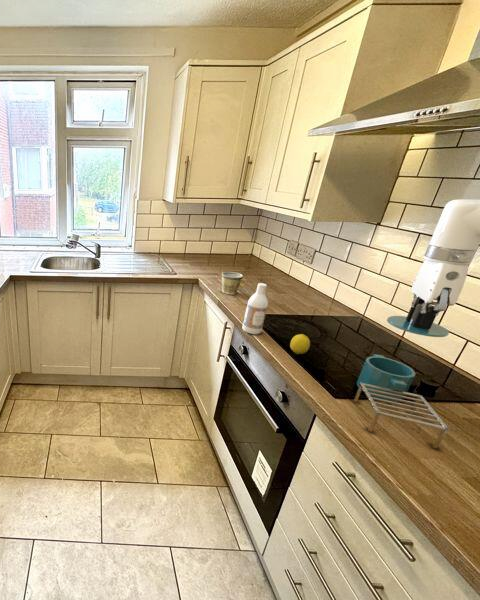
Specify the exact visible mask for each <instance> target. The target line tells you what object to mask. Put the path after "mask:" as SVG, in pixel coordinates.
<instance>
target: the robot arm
mask: <svg viewBox="0 0 480 600" xmlns="http://www.w3.org/2000/svg"><path fill="white" fill-rule="evenodd" d="M479 246H480V199H470V198H469V199H468V198H462V199H461V198H460V199H459V198H457V199H453V200H450V201H448V202H447V203H446V204H445V206H444V208H443V210H442V211H441V215H440V217H439V219H438V222H437V224H436V227H435V228H434V231H433V234H432V236H431V238H430V241H429V243H428V246H427V248H426V249H425V250H426V251H425V253H424V255H423V259H424V260H423V262H422V264H421V266H420V268H419V270H418V272H417V274H416V276H415V278H414V280H413V283H412V286H411V292H412V294H413V300H412V302H411V304H410V306H411V307H410V308H409V311H408V313H407V315H406V317H407V318H406V320H407V321H408V322H410V319H411V317H412V315H413V312H414V310H415V308H416V306H417V304H418V303H424V304H423V306H422V309H421V312H418V313H417V316H416V318H415V320H414V323H413V325H412V326H413V327H415V328H422V329H430V328H431V326H432V324H433V323H435V319H436V317H437V316H439V314H440V313H441V312H445V311H446V310H447V307H448V306H451V307H452V306H455V305H456V304H457V302H458V300H459V297H460V295H461V293H462V291H463V288H464V285H465V282H466V279H467V276H468V272H469V267H470V264H471V263H472V261H473V259H474V258H475V257H474V256H475V254H476V253H477V250H478V248H479ZM429 305H432V306H430V307H428V306H429Z"/></svg>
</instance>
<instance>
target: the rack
mask: <svg viewBox="0 0 480 600" xmlns="http://www.w3.org/2000/svg"><path fill="white" fill-rule="evenodd" d="M359 384H360V386H359V387H357V391H356V393H355V395H354V398H353V400H352V401H353V403H358V401H359V398H360V396H361V393H362V392H363V391H364V392H363V393H364V395H365V397H366V398H367V400H368V402H369V403H370V405H371V407H372V408H373V410H374V412H375V413H374V416H373V418H372V421H371V423H370V425H369V427H368V428H367V431H368V432H371V433H372V432H373V431H374V429H375V427H376V424H377V422H378V420H379V418H380V416H384V417H388V418H392V419H397V420H401V421H405V422H409V423H413V424H417V425H422V426H426V427H431V428H435V429H439V430H440V431H439V433H438V435H437V437H436V438H435V440H434V442H433V444H432V445H431V447H432V448H433V449H438V448H439V446H440V444H441V443H442V441H443V439H444V437H445V436H446V434H447V432H450V431H451V429H450V428H449V427H448V425H447V424H446V423H445V422H444V420H443V419H442V418H441V417H440V416H439V414H438V413H437V412H436V411H435V410H434V409H433V407H432V406H431V405H430V403H429V402H428V401H427V400H426V399H425V398H424V397H423V395H421V394H416V393H412V392H408V391H407V392H403V391H398V390H393V389H388V388H384V387H379V386H374V385H370V384H365V383H359ZM365 386H367V387H371V388H376V389H381V390H385V391H390V392H395V393H399V394H404V395H405V396H401V395H396V394H392V393H387V392H382V391H378V390H373V389H368V388H366V387H365ZM362 389H363V391H362ZM367 390H369V391H373V392H378V393H383V394H387V395H392V396H396V397H401V398H404V399H403V400H401V399H397V398H392V397H388V396H383V395H378V394H374V393H369V392H368V391H367ZM370 395H374V396H378V397H383V398H388V399H392V400H397V401H401V402H402V403H400V402H392V401H387V400H383V399H378V398H375V397H372V396H370ZM405 399H406V400H405ZM378 401H379V402H378ZM390 404H392V405H390ZM410 404H411V405H410ZM378 405H379V406H378ZM396 405H397V406H396ZM380 406H383V407H380ZM400 406H401V407H400ZM419 406H420V407H419ZM384 407H388V408H384ZM390 408H391V409H390ZM409 408H410V409H409ZM393 409H396V410H393ZM380 410H381V411H380ZM398 410H400V411H398ZM416 410H419V411H416ZM384 411H385V412H384ZM403 411H404V412H403ZM407 412H408V413H407ZM425 412H426V413H425ZM393 413H394V414H393ZM396 414H398V415H396ZM401 415H403V416H401ZM420 415H422V416H420ZM405 416H407V417H405ZM423 416H424V417H423ZM409 417H411V418H409ZM428 417H430V418H428ZM414 418H415V419H414ZM432 418H434V419H432ZM418 419H419V420H418ZM422 420H424V421H422ZM426 421H428V422H426ZM430 422H433V423H430ZM434 423H436V424H434Z"/></svg>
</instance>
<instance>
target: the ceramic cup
mask: <svg viewBox="0 0 480 600" xmlns="http://www.w3.org/2000/svg"><path fill="white" fill-rule="evenodd" d="M243 277H244V276H243V274H241V273H240V272H239V273H238V272H235V271H223V272H222V273H221V292H222V293H223V294H225V295H233V296H234V295H236V294H237V291H238V289H239V288H241V287H242V286H244V285H247V283H248V279H247V278H243ZM242 281H245V283H243V284H241V283H242ZM240 284H241V285H240Z"/></svg>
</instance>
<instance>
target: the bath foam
mask: <svg viewBox="0 0 480 600" xmlns="http://www.w3.org/2000/svg"><path fill="white" fill-rule="evenodd" d="M267 287H268V286H267V283H262V282H258V284H257V287H256V291H255V292H254V293H253V294H252V295H251V296H250V298H249V299H248V301H247V305H246V309H245V313H244V317H243V323H242V327H241V328H242V331H243V332H245V333H247V334H251V335H260V334H261V333H262V331H263V326H264V322H265V319H266V315H267V311H268V306H269V302H268V301H269V300H268V298H267V296H266V291H267Z"/></svg>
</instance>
